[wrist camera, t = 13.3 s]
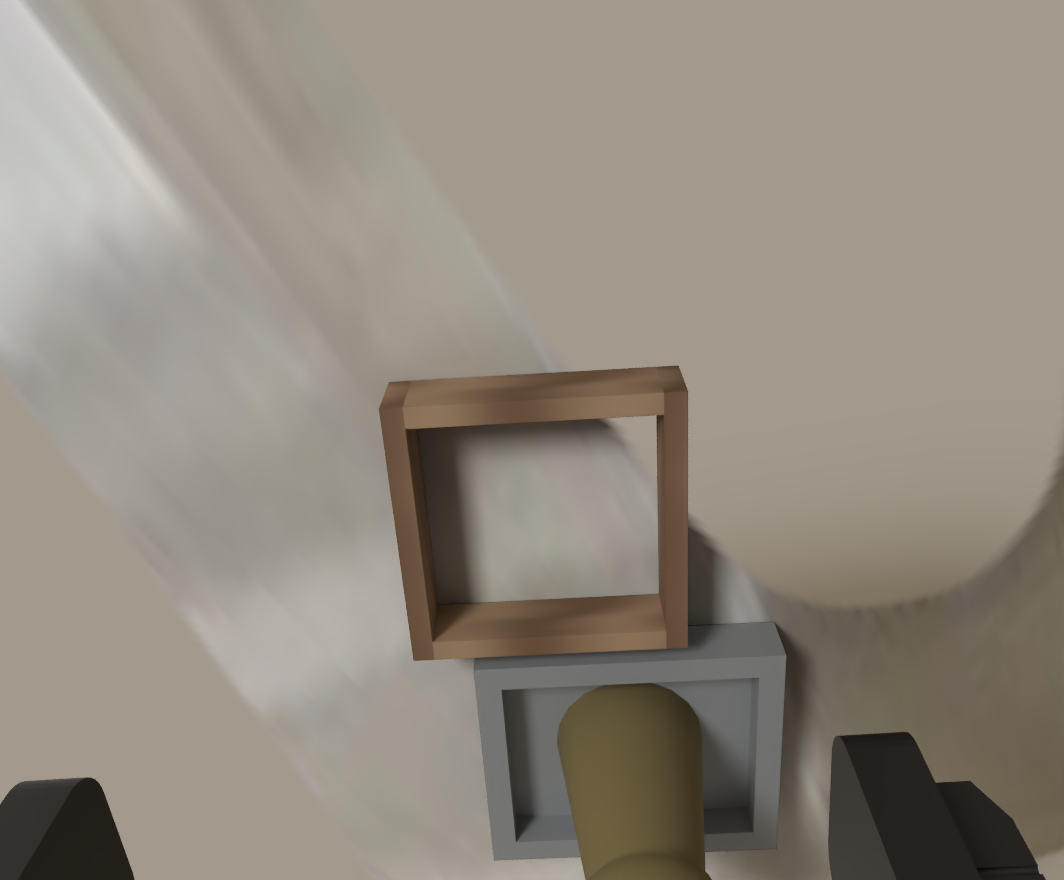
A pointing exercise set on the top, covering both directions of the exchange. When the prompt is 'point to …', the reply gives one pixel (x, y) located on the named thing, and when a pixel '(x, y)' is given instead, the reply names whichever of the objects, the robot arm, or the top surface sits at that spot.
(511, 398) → the socket block
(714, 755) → the tray
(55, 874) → the robot arm
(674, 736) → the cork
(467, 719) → the top surface
